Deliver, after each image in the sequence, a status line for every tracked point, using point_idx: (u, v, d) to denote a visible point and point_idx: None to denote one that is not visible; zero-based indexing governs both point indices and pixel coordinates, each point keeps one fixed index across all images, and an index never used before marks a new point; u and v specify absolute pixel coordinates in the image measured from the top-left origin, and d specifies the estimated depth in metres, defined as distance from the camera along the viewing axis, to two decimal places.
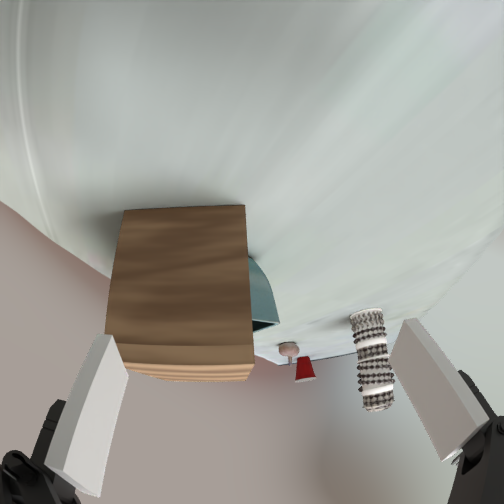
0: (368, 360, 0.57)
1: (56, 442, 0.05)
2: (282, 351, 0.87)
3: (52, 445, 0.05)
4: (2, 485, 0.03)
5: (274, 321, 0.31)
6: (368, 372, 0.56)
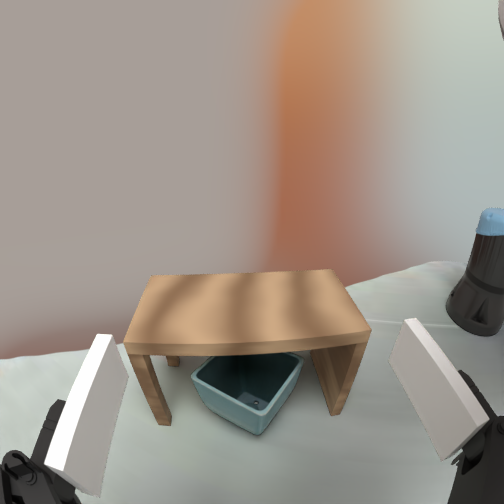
0: None
1: (56, 442, 0.05)
2: None
3: (52, 445, 0.05)
4: (2, 485, 0.03)
5: (270, 408, 0.23)
6: None
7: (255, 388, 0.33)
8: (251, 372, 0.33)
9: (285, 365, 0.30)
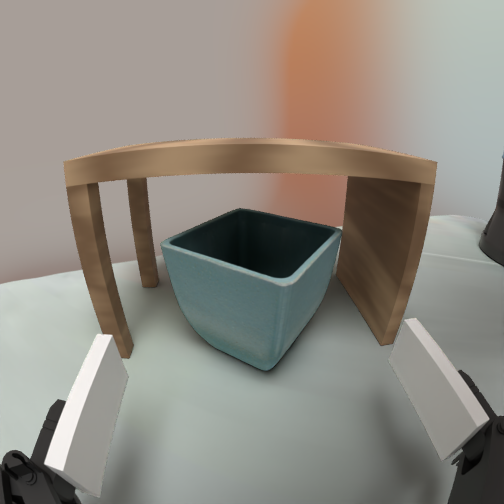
0: None
1: (56, 442, 0.05)
2: None
3: (52, 445, 0.05)
4: (2, 485, 0.03)
5: (300, 277, 0.13)
6: None
7: None
8: None
9: (312, 249, 0.20)
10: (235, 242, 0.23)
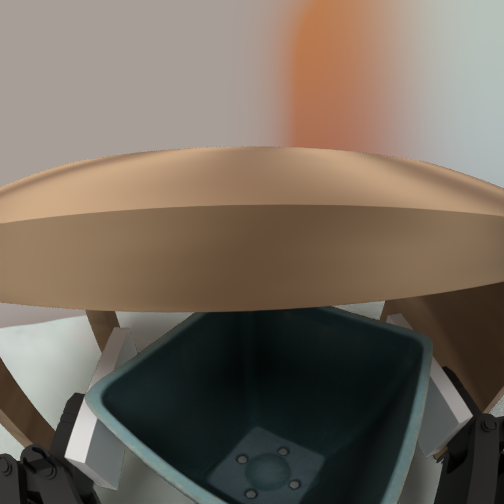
0: None
1: (76, 434, 0.06)
2: None
3: (72, 437, 0.06)
4: (18, 482, 0.03)
5: None
6: None
7: (281, 420, 0.13)
8: (274, 384, 0.13)
9: (373, 363, 0.10)
10: (235, 338, 0.13)
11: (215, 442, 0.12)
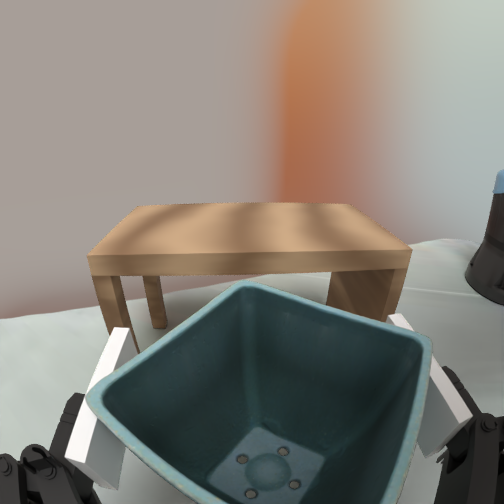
0: None
1: (77, 434, 0.06)
2: None
3: (72, 438, 0.06)
4: (18, 482, 0.03)
5: None
6: None
7: (281, 420, 0.13)
8: (274, 385, 0.13)
9: (373, 364, 0.10)
10: (235, 339, 0.13)
11: (216, 442, 0.12)
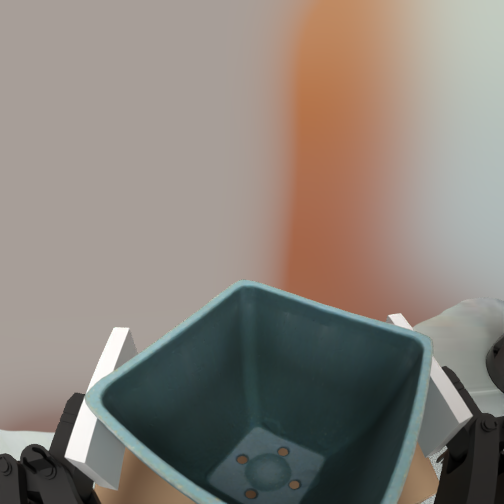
0: None
1: (77, 434, 0.06)
2: None
3: (73, 438, 0.06)
4: (18, 482, 0.03)
5: None
6: None
7: (281, 420, 0.13)
8: (274, 385, 0.13)
9: (373, 364, 0.10)
10: (235, 339, 0.13)
11: (216, 443, 0.12)
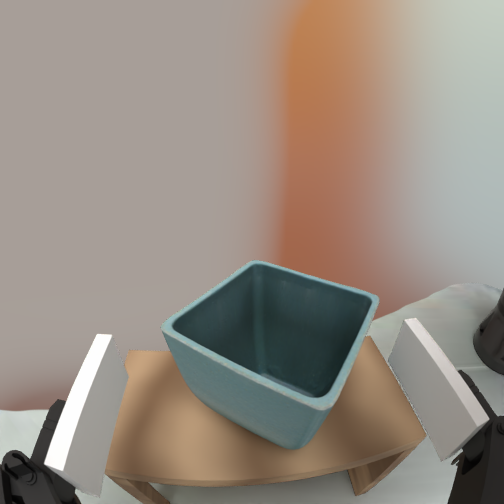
0: None
1: (56, 442, 0.05)
2: None
3: (52, 445, 0.05)
4: (2, 485, 0.03)
5: (340, 391, 0.09)
6: None
7: (281, 366, 0.20)
8: (275, 337, 0.20)
9: (342, 315, 0.16)
10: (249, 300, 0.19)
11: None
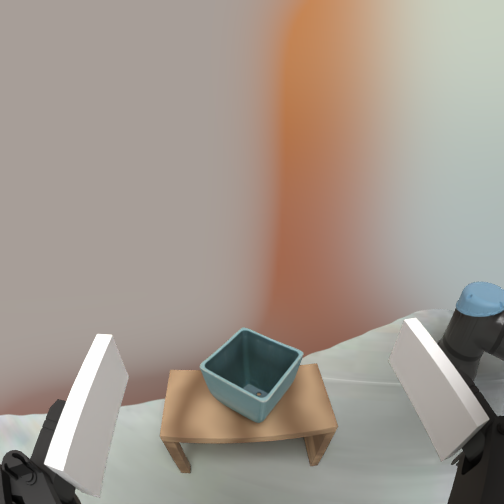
0: None
1: (56, 442, 0.05)
2: None
3: (52, 445, 0.05)
4: (2, 485, 0.03)
5: (271, 396, 0.25)
6: None
7: (258, 380, 0.36)
8: (255, 365, 0.36)
9: (286, 359, 0.32)
10: (240, 347, 0.35)
11: None
